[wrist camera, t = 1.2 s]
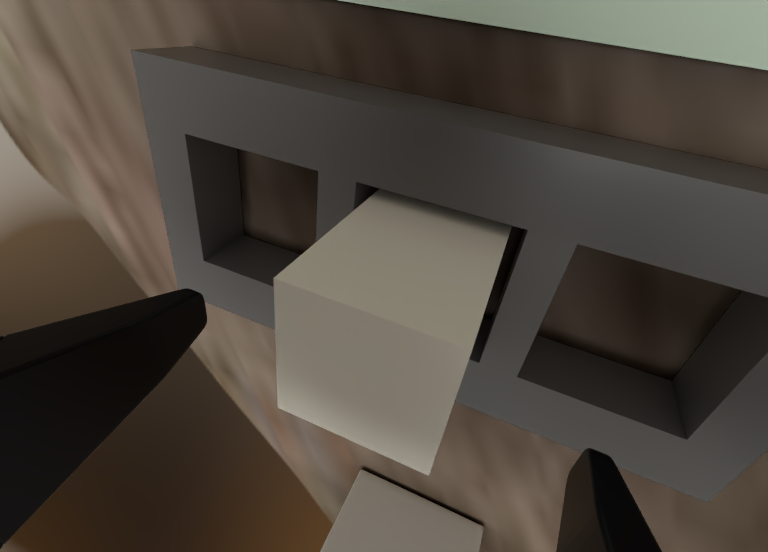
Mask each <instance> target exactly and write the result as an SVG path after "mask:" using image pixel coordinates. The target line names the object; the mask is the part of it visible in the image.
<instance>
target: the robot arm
mask: <svg viewBox="0 0 768 552" xmlns="http://www.w3.org/2000/svg"><path fill="white" fill-rule="evenodd" d="M206 323H207V314H206V307H205V301H204V297H203V295H202V294H201V293H199V292H197V291H194V290H192V289H188V288H185V289H181V290H177V291H173V292H169V293H165V294H161V295H158V296H154V297H150V298H146V299H142V300H138V301H135V302H131V303H127V304H123V305H119V306H115V307H111V308H108V309H104V310H100V311H96V312H93V313H88V314H85V315H81V316H77V317H73V318H69V319H65V320H62V321H58V322H54V323H50V324H46V325H42V326H39V327H35V328H31V329H27V330H23V331H20V332H16V333H12V334H8V335H6V336H5V337H4V336H0V549H1V547H2V546H3V544H5V543H6V542H7V541H8V540H9V539H10V538H11V537H12V536H13V535H14V534H15V533H16V532H17V531H18V530H19V529H20V528H21V527H22V525H23V524H24V523H25V522H26V521H27V520H28V519H29V518H30V517H31V516H32V515H33V514H34V513H35V512H36V511H37V510H38V509H39V508H40V507H41V506H42V505H43V504H44V503H45V501H47V499H48V498H49V497H50V496H51V495H52V494H53V493H54V492H55V491H56V490H57V489H58V488H59V487H60V486H61V485H62V484H63V483H64V482H65V481H66V480H67V479H68V478H69V477H70V476H71V474H72V473H73V472H74V471H75V470H76V469H77V468H78V467H79V466H80V465H81V464H82V463H83V462H84V461H85V460H86V459H87V458H88V457H89V456H90V455H91V454H92V453H93V452H94V451H95V449H97V447H98V446H99V445H100V444H101V443H102V442H103V441H104V440H105V439H106V438H107V437H108V436H109V435H110V434H111V433H112V432H113V431H114V430H115V429H116V428H117V427H118V426H119V425H120V424H121V422H122V421H123V420H124V419H125V418H126V417H127V416H128V415H129V414H130V413H131V412H132V411H133V410H134V409H135V408H136V407H137V406H138V405H139V404H140V403H141V402H142V401H143V400H144V398H145V397H146V396H147V395H148V394H149V393H150V392H151V391H152V390H153V389H154V388H155V387H156V386H157V385H158V384H159V383H160V382H161V381H162V380H163V379H164V377H165V376H166V375H167V374H168V373H169V372H170V370H171V369H172V368H173V367H174V365H175V364H176V363H177V362H178V360H179V359H180V358H181V357H182V355H183V354H184V353H185V352H186V350H187V349H188V348H189V347H190V345H191V344H192V343H193V341H194V340H195V339H196V338H197V336H198V335H199V334H200V333H201V331H202V330H203V329H204V327H205V325H206ZM556 552H662V551H661V549H660V547H659V545H658V543H657V541H656V540H655V538H654V536H653V534H652V532H651V530H650V528H649V526H648V525H647V523H646V521H645V519H644V517H643V515H642V513H641V511H640V510H639V508H638V506H637V504H636V502H635V500H634V498H633V496H632V495H631V493H630V491H629V489H628V487H627V485H626V483H625V481H624V480H623V478H622V476H621V474H620V472H619V470H618V468H617V466H616V465H615V463H614V461H613V459H612V458H611V457H610V456H609V455H607V454H605V453H602V452H599V451H597V450H594V449H592V448H587V449H585V450H584V451H583V453H582V454H581V456H580V457H579V459H578V460H577V462H576V463H575V464H574V466H573V467H572V469H571V470H570V472H569V475H568V478H567V483H566V490H565V497H564V503H563V510H562V517H561V524H560V531H559V537H558V544H557V551H556Z"/></svg>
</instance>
